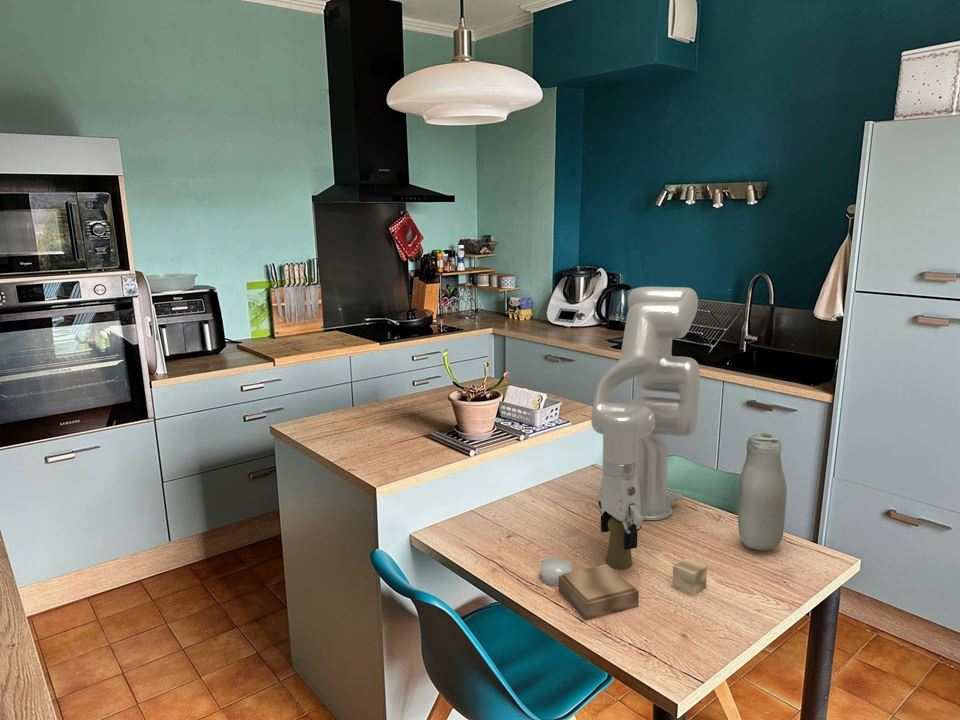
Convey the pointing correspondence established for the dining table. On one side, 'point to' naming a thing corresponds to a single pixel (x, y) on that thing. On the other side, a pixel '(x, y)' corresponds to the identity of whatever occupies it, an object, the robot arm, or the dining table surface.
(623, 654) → the dining table surface
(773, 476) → the glass bottle
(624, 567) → the pepper shaker
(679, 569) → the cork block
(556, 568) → the pale grey dome
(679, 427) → the robot arm
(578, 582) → the walnut stand
